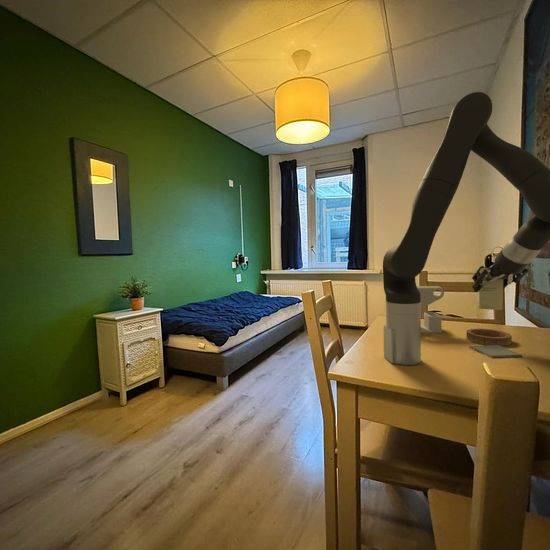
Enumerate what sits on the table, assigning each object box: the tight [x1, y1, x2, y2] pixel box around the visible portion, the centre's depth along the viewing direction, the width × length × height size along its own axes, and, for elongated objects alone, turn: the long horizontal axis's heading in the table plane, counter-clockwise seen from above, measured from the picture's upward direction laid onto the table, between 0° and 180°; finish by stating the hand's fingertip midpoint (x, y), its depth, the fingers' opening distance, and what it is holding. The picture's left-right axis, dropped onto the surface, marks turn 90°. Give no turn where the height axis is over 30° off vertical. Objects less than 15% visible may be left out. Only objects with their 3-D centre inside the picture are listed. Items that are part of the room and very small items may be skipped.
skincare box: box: [476, 273, 504, 311], centre depth 93 cm, size 6×4×12 cm
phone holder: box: [416, 285, 445, 334], centre depth 116 cm, size 17×10×18 cm, turn 79°
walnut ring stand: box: [466, 327, 513, 347], centre depth 100 cm, size 12×12×2 cm
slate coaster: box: [469, 344, 523, 358], centre depth 88 cm, size 9×9×1 cm
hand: (486, 289), depth 95 cm, fingers closed on skincare box, 7 cm apart
